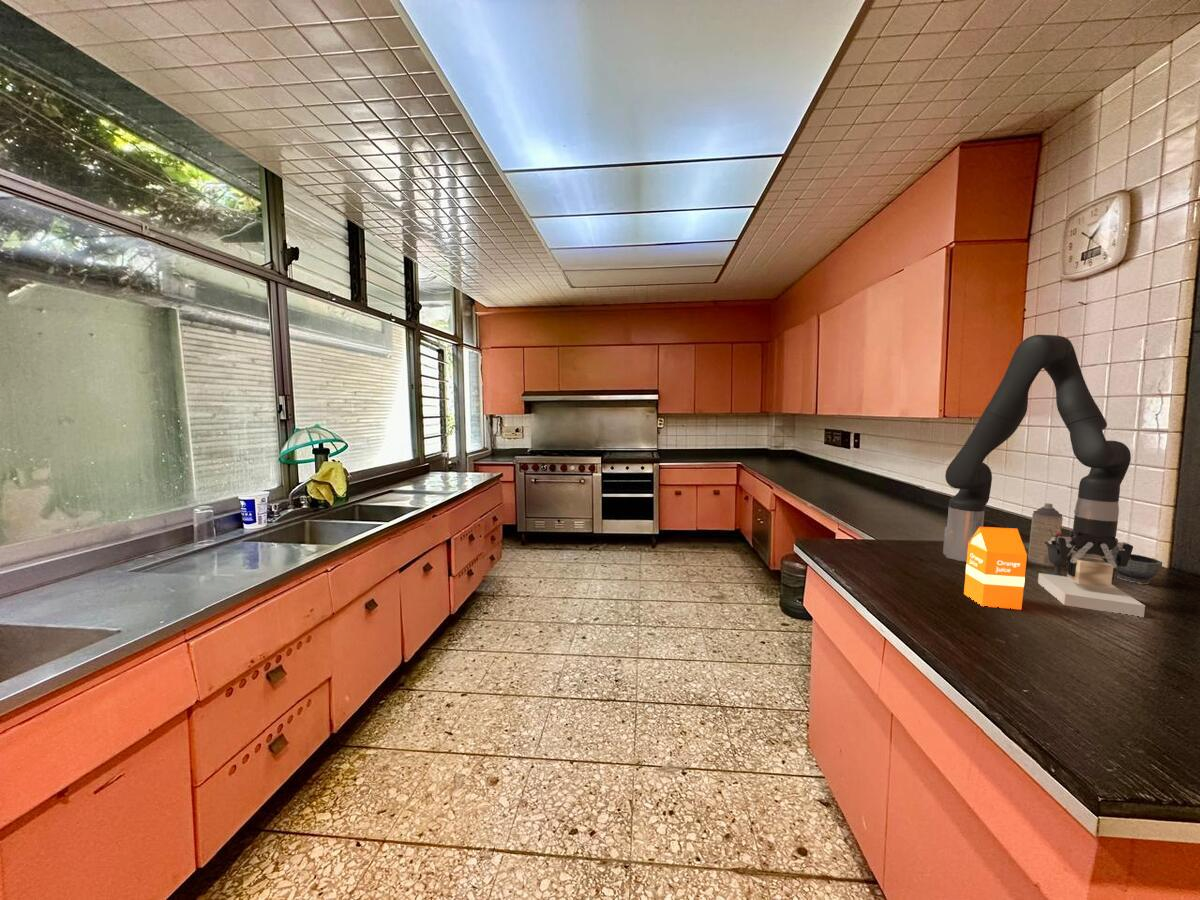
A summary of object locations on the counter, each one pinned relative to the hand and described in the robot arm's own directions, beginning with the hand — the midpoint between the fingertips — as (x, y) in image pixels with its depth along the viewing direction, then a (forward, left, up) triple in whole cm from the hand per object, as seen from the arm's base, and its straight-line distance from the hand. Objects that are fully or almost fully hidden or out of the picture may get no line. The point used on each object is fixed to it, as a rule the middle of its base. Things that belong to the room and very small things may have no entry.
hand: (1088, 577), depth 115 cm
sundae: (0, +17, -6) cm, 18 cm away
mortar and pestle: (+18, +24, -6) cm, 31 cm away
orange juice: (-23, -14, -6) cm, 28 cm away
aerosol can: (+1, +30, -6) cm, 31 cm away
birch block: (0, 0, -1) cm, 1 cm away
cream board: (0, 0, -6) cm, 6 cm away
